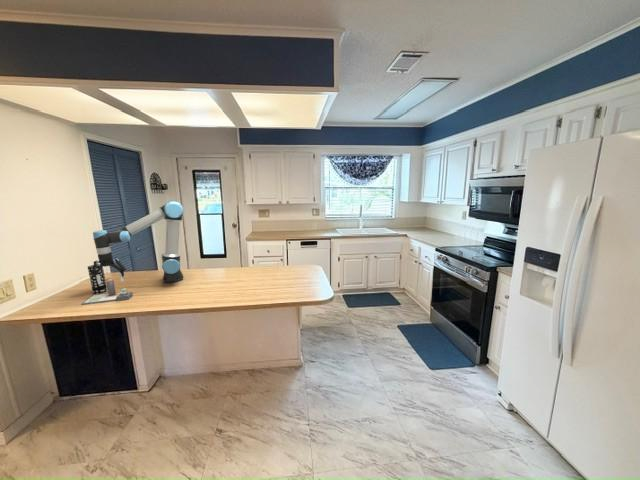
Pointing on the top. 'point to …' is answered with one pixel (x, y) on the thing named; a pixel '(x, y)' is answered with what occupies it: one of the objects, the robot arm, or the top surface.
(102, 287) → the spotted tube
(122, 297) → the button housing
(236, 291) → the top surface
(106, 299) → the picture board
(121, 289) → the button
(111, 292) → the grey upright cylinder
